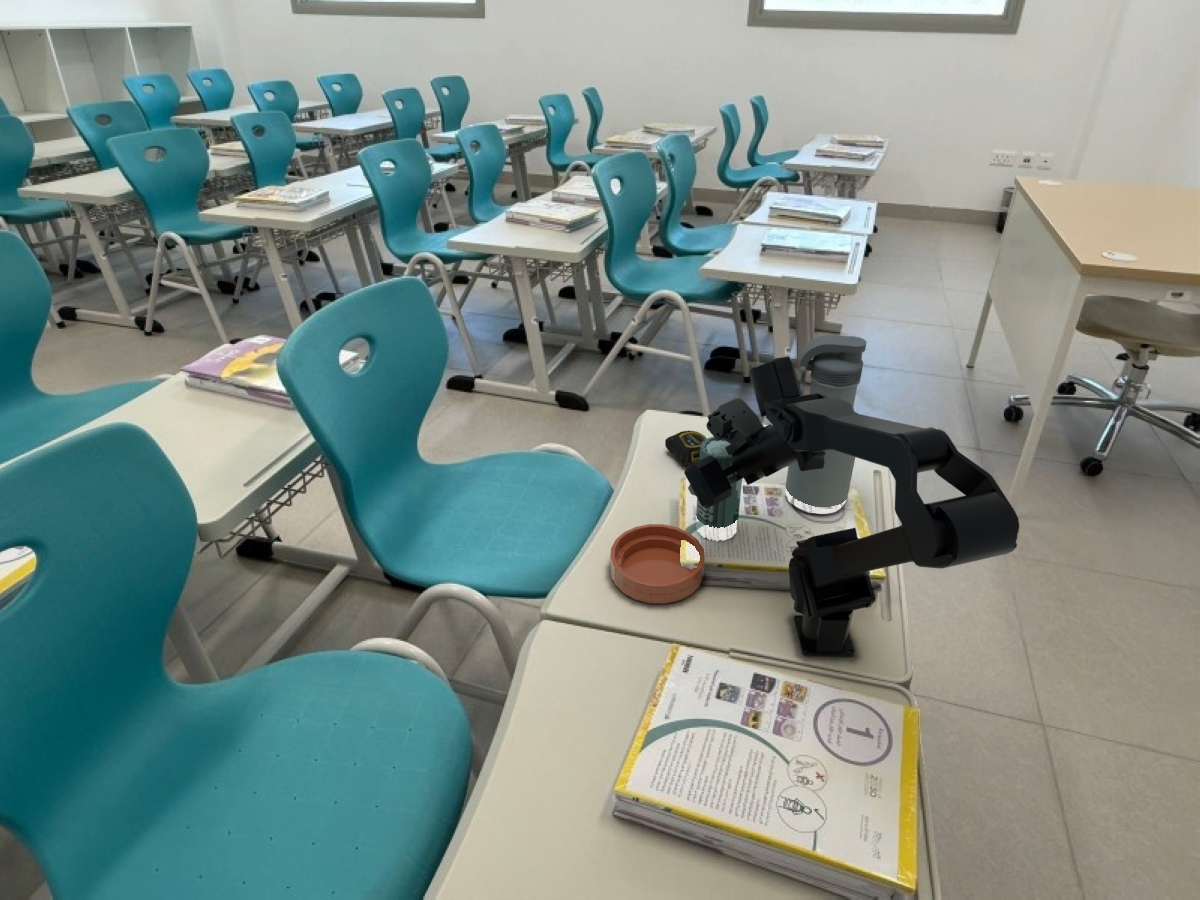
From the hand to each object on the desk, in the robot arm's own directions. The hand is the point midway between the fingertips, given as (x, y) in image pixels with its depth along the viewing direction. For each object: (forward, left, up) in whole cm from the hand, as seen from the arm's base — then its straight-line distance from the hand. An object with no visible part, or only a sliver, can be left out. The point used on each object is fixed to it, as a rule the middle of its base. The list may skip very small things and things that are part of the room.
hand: (712, 479), depth 108 cm
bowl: (-11, +8, -9) cm, 16 cm away
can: (-1, -1, -9) cm, 9 cm away
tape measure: (+19, +2, -9) cm, 21 cm away
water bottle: (+7, -18, -9) cm, 21 cm away
